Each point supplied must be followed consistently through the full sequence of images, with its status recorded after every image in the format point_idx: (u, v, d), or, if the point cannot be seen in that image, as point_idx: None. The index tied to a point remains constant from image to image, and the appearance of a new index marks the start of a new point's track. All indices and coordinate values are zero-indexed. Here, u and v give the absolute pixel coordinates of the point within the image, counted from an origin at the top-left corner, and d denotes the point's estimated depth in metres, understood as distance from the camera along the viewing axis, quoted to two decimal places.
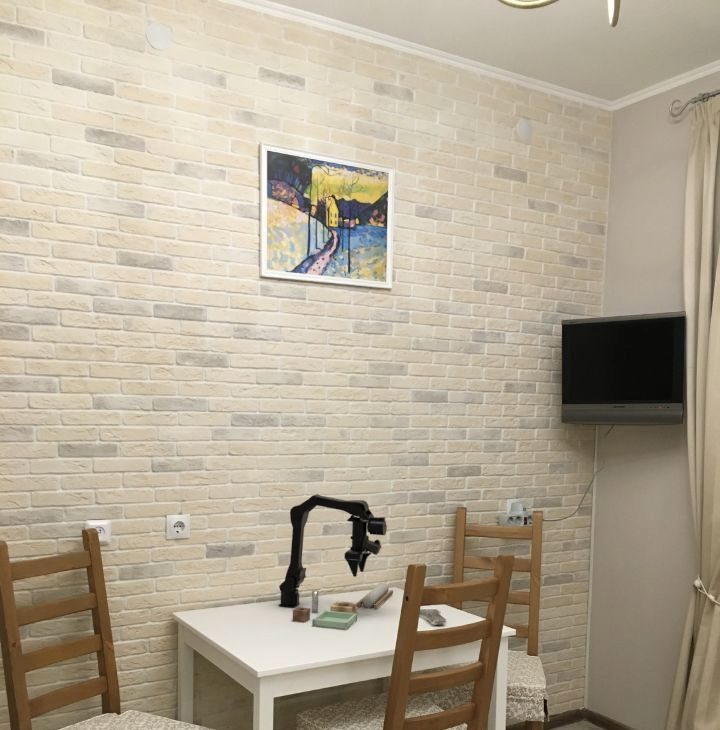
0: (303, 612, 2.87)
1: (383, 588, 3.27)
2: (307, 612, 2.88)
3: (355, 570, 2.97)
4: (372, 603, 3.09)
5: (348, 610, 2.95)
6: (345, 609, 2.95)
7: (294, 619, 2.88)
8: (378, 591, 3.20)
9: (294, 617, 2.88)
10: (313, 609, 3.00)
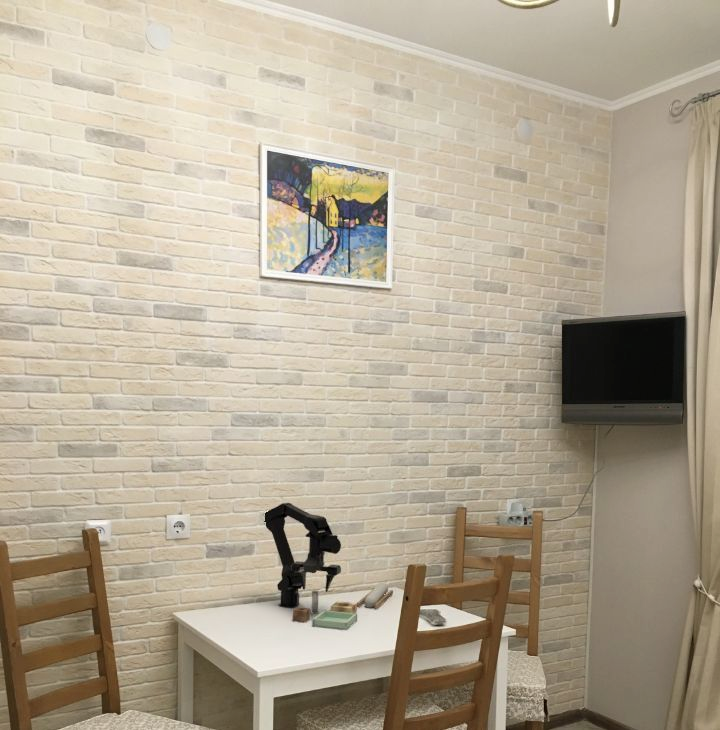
0: (303, 612, 2.87)
1: (383, 588, 3.27)
2: (307, 612, 2.88)
3: None
4: (374, 603, 3.09)
5: (348, 610, 2.95)
6: (345, 609, 2.95)
7: (294, 619, 2.88)
8: (379, 591, 3.20)
9: (294, 617, 2.88)
10: (313, 609, 3.00)
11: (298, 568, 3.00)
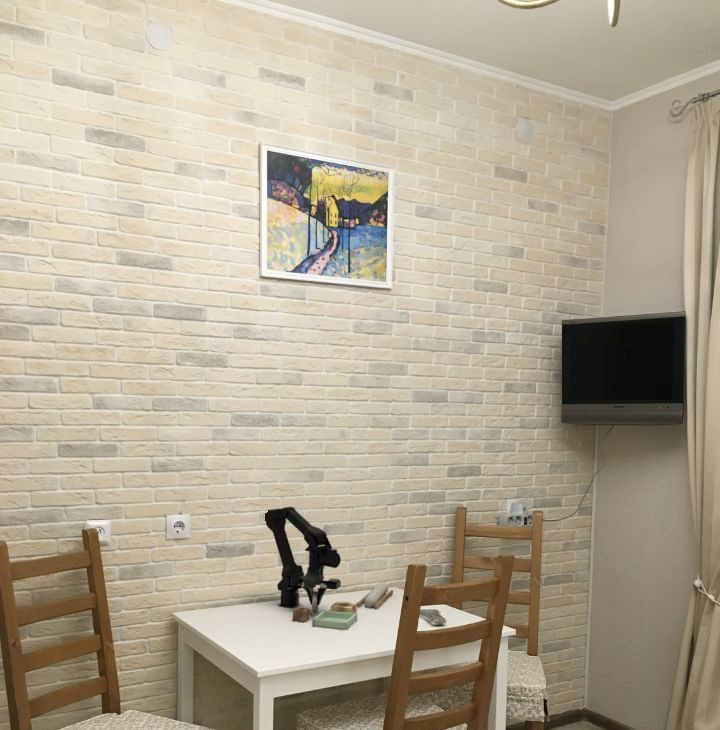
0: (303, 612, 2.87)
1: (383, 588, 3.27)
2: (307, 612, 2.88)
3: None
4: (374, 603, 3.09)
5: (348, 610, 2.95)
6: (345, 609, 2.95)
7: (294, 619, 2.88)
8: (379, 591, 3.20)
9: (294, 617, 2.88)
10: (313, 609, 3.00)
11: (298, 582, 3.00)
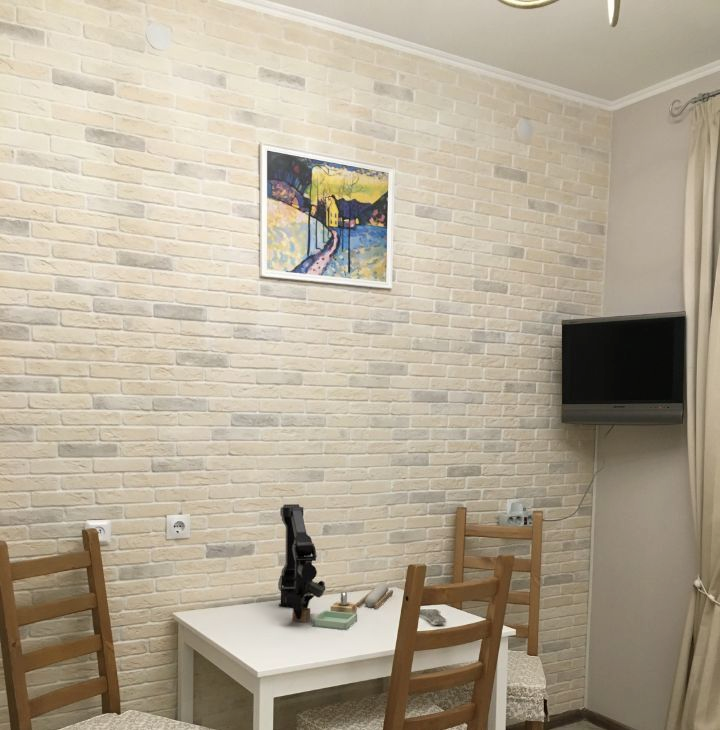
0: (303, 612, 2.87)
1: (383, 588, 3.27)
2: (307, 612, 2.88)
3: (299, 612, 2.86)
4: (374, 603, 3.10)
5: (348, 610, 2.95)
6: (345, 609, 2.95)
7: (294, 619, 2.88)
8: (379, 591, 3.20)
9: (294, 617, 2.88)
10: None
11: (304, 598, 2.83)
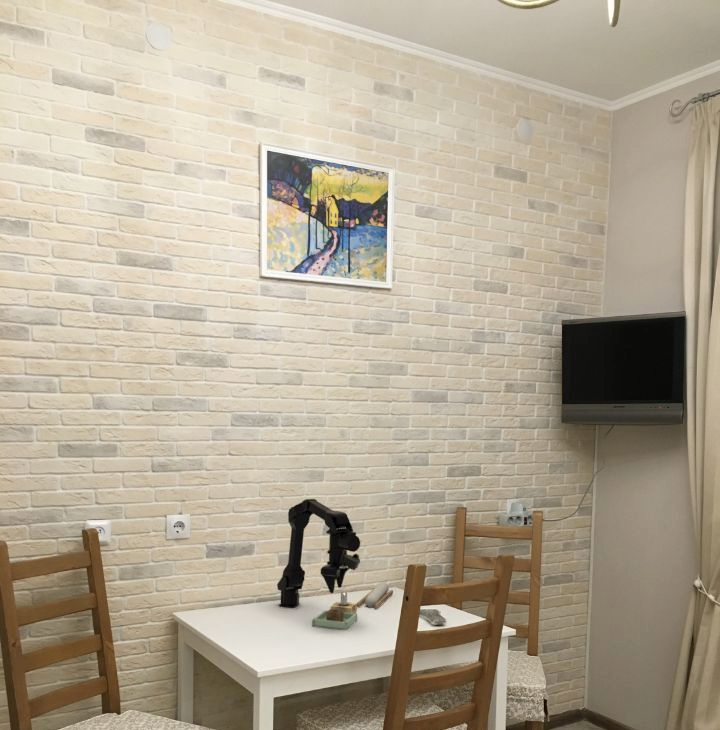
0: (337, 614, 2.84)
1: (384, 587, 3.28)
2: (340, 613, 2.85)
3: (332, 586, 2.82)
4: (375, 603, 3.10)
5: (348, 610, 2.95)
6: (345, 609, 2.95)
7: None
8: (379, 591, 3.21)
9: (328, 619, 2.84)
10: None
11: (339, 570, 2.81)
